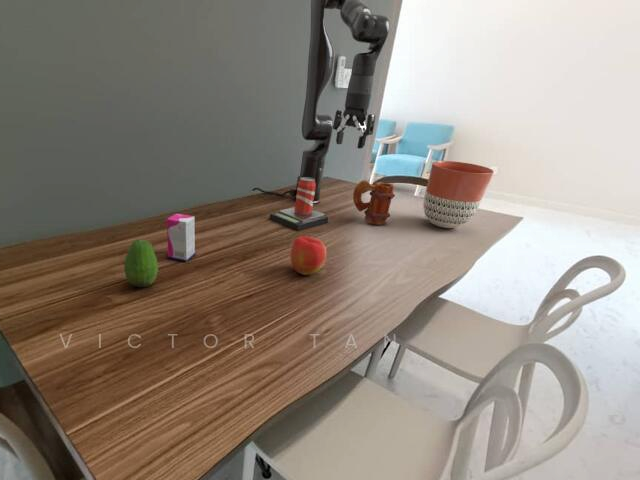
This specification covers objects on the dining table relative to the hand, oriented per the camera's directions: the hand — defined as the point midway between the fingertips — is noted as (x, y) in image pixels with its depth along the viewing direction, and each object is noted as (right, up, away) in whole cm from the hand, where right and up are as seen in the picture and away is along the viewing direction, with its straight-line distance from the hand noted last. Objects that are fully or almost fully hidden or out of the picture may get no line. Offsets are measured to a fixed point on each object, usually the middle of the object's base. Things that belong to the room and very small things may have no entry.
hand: (349, 146), depth 132 cm
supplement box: (-53, -40, -21) cm, 70 cm away
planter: (+39, -24, +15) cm, 49 cm away
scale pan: (-14, -21, +11) cm, 27 cm away
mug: (+11, -23, +14) cm, 29 cm away
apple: (-19, -45, -25) cm, 55 cm away
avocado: (-61, -48, -36) cm, 86 cm away
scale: (-15, -23, +11) cm, 30 cm away
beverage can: (-14, -20, +10) cm, 27 cm away
